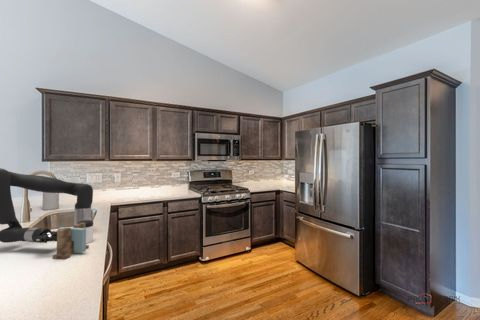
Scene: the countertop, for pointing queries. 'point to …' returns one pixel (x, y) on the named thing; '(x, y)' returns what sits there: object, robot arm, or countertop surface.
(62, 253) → the brown wooden u-shaped piece
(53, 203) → the cylinder vase
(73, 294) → the countertop surface
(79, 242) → the teal rectangular panel
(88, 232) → the jar
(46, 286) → the countertop surface
